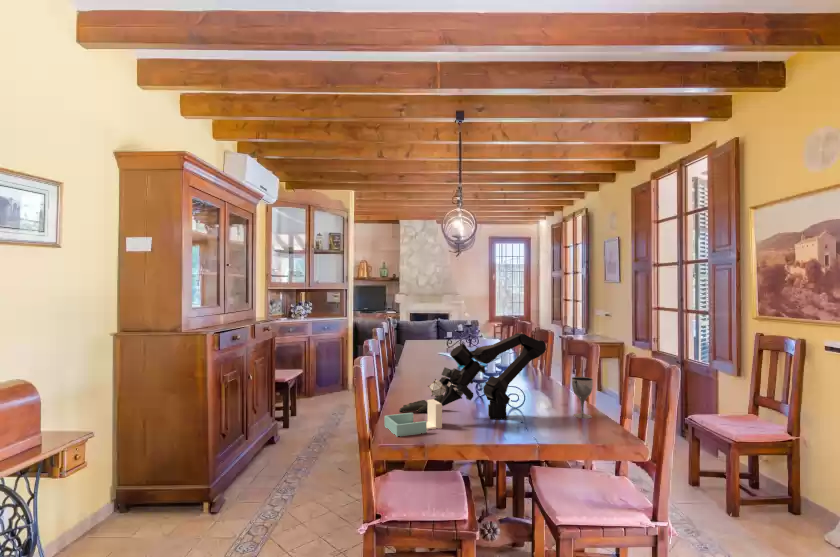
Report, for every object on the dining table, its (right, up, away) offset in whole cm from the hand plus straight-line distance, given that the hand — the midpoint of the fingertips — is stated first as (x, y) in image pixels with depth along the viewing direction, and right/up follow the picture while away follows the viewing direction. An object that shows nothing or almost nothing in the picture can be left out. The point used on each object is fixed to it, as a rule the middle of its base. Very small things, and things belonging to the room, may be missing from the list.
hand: (441, 405), depth 180 cm
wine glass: (+57, -8, +11) cm, 59 cm away
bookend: (-6, -7, -3) cm, 10 cm away
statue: (-7, -8, +19) cm, 22 cm away
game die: (0, -8, +45) cm, 46 cm away
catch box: (-13, -7, -6) cm, 16 cm away
